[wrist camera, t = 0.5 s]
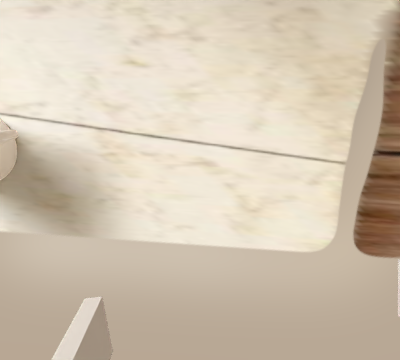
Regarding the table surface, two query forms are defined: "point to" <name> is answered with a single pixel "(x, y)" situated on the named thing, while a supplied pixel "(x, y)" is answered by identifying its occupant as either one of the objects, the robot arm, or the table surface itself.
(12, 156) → the mug
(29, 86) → the table surface
